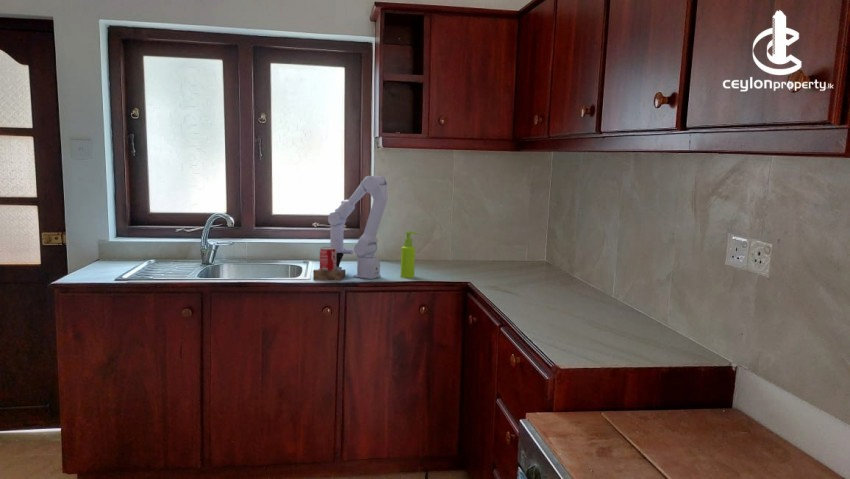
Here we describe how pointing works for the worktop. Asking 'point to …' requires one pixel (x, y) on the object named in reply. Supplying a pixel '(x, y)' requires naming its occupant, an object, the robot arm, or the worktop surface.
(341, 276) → the walnut tray
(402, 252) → the soap dispenser
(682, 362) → the worktop surface
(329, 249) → the soda can
